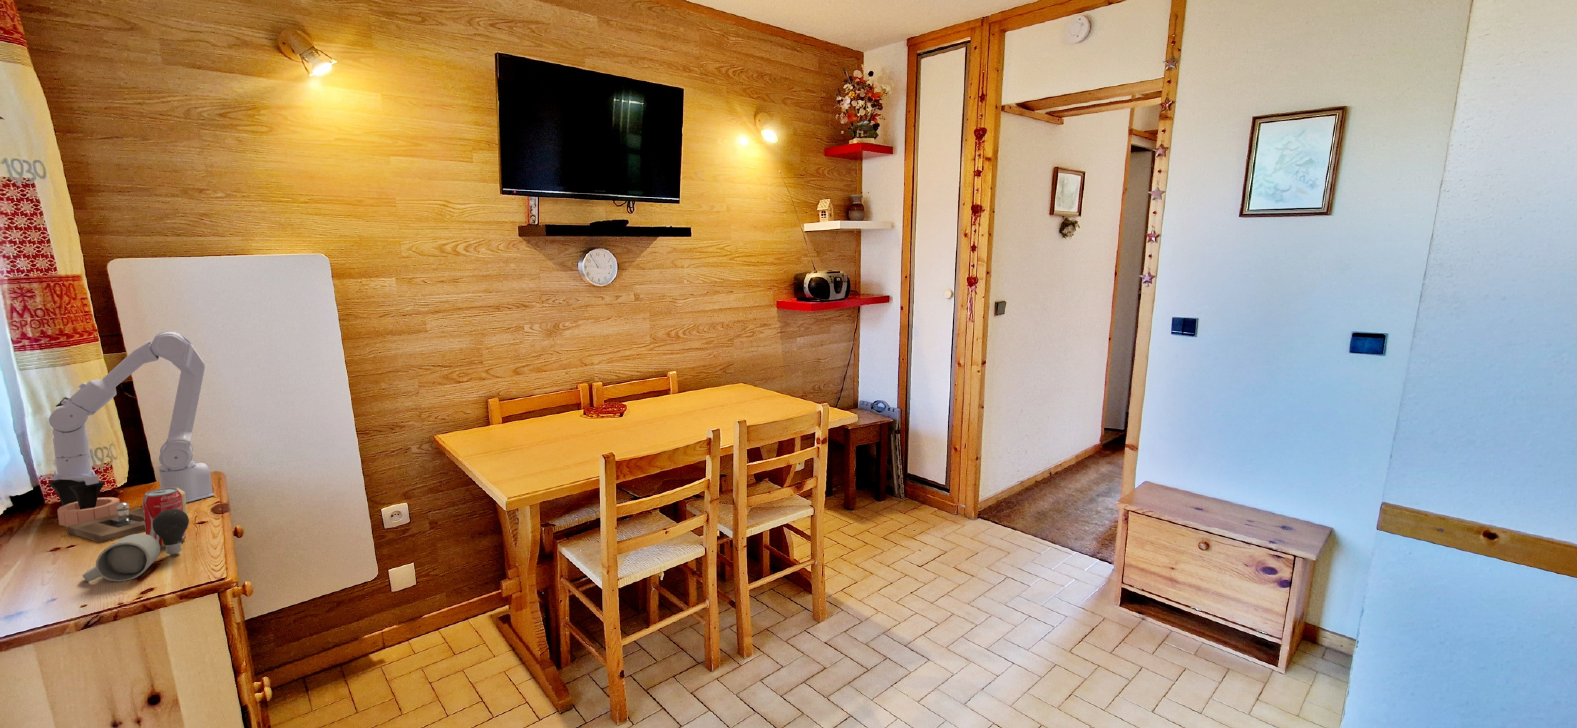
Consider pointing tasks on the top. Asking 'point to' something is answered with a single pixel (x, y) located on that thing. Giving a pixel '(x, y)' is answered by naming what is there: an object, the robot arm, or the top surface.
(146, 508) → the soda can
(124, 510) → the hook peg
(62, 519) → the coral ring
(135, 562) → the ceramic mug
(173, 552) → the light bulb
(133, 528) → the hook board
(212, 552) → the top surface
